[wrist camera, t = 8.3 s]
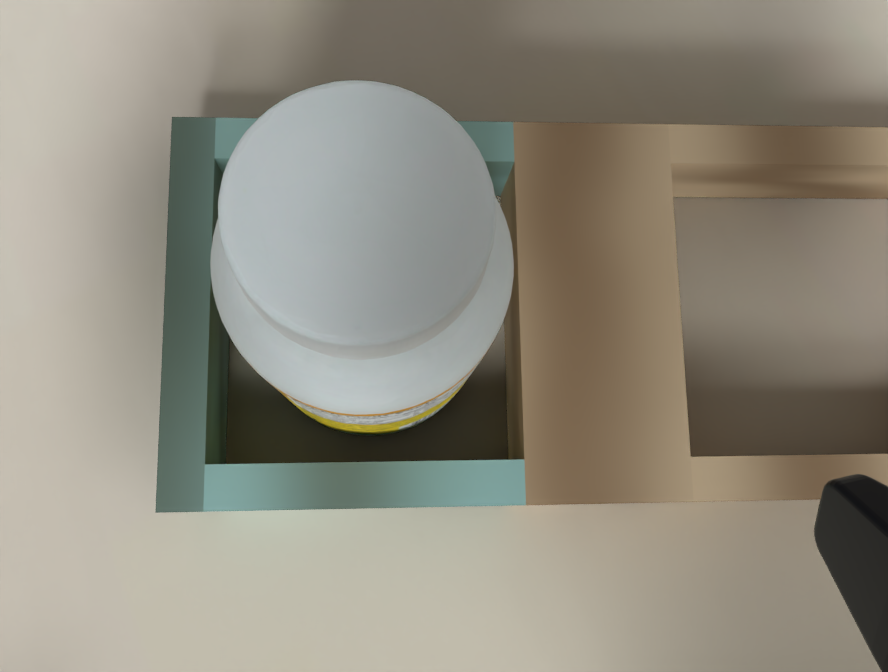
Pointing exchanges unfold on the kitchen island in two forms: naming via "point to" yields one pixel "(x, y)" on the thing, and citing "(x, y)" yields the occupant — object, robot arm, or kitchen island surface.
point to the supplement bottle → (361, 255)
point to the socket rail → (528, 323)
